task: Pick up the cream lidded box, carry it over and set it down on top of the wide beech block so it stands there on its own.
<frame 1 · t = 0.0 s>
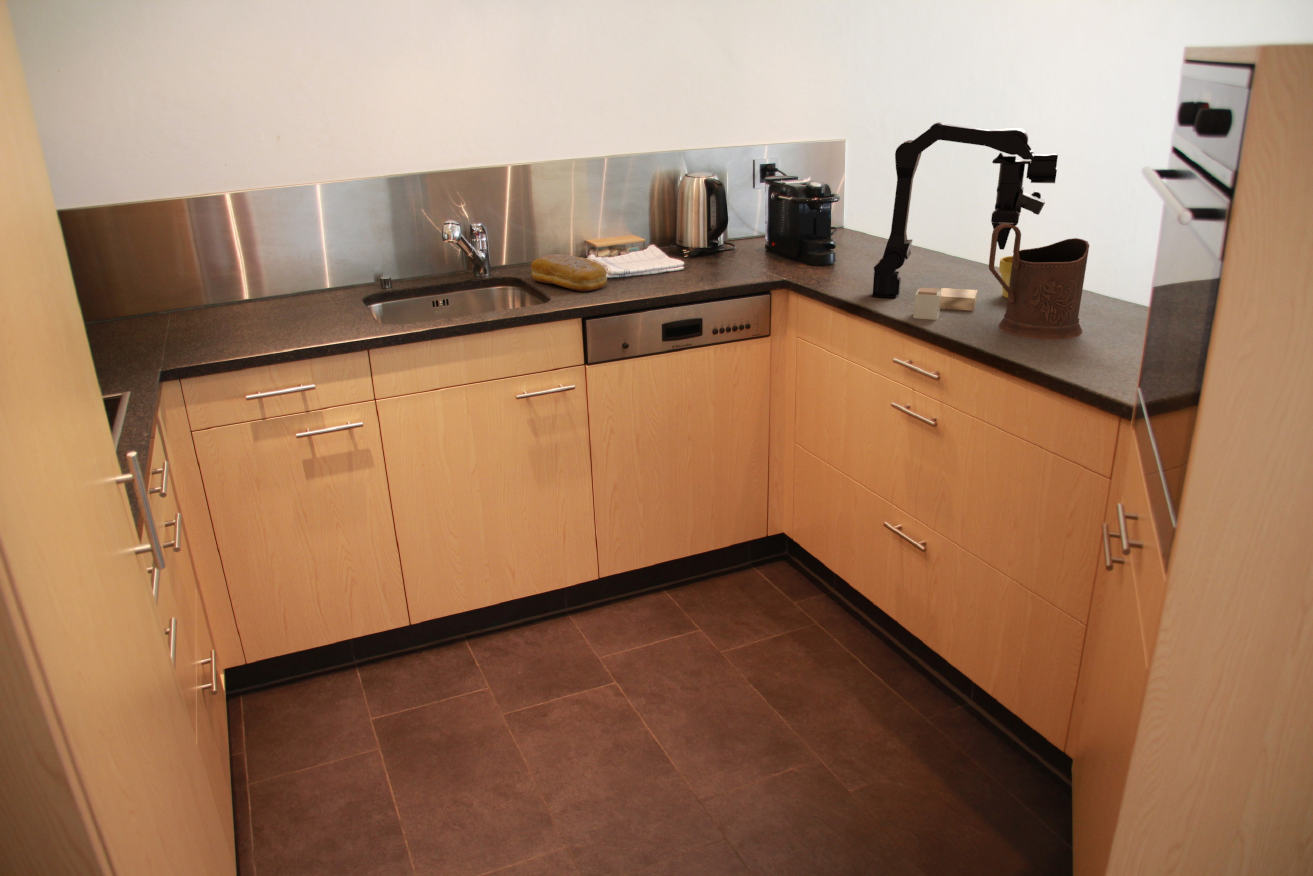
hand: (1002, 245, 235), 15 cm above the countertop, fingers open, 9 cm apart
beech block: (956, 306, 239), on the countertop
plant pot: (1016, 297, 246), on the countertop
cup holder: (1029, 330, 218), on the countertop
bread: (569, 285, 272), on the countertop
cream lidded box: (926, 316, 230), on the countertop
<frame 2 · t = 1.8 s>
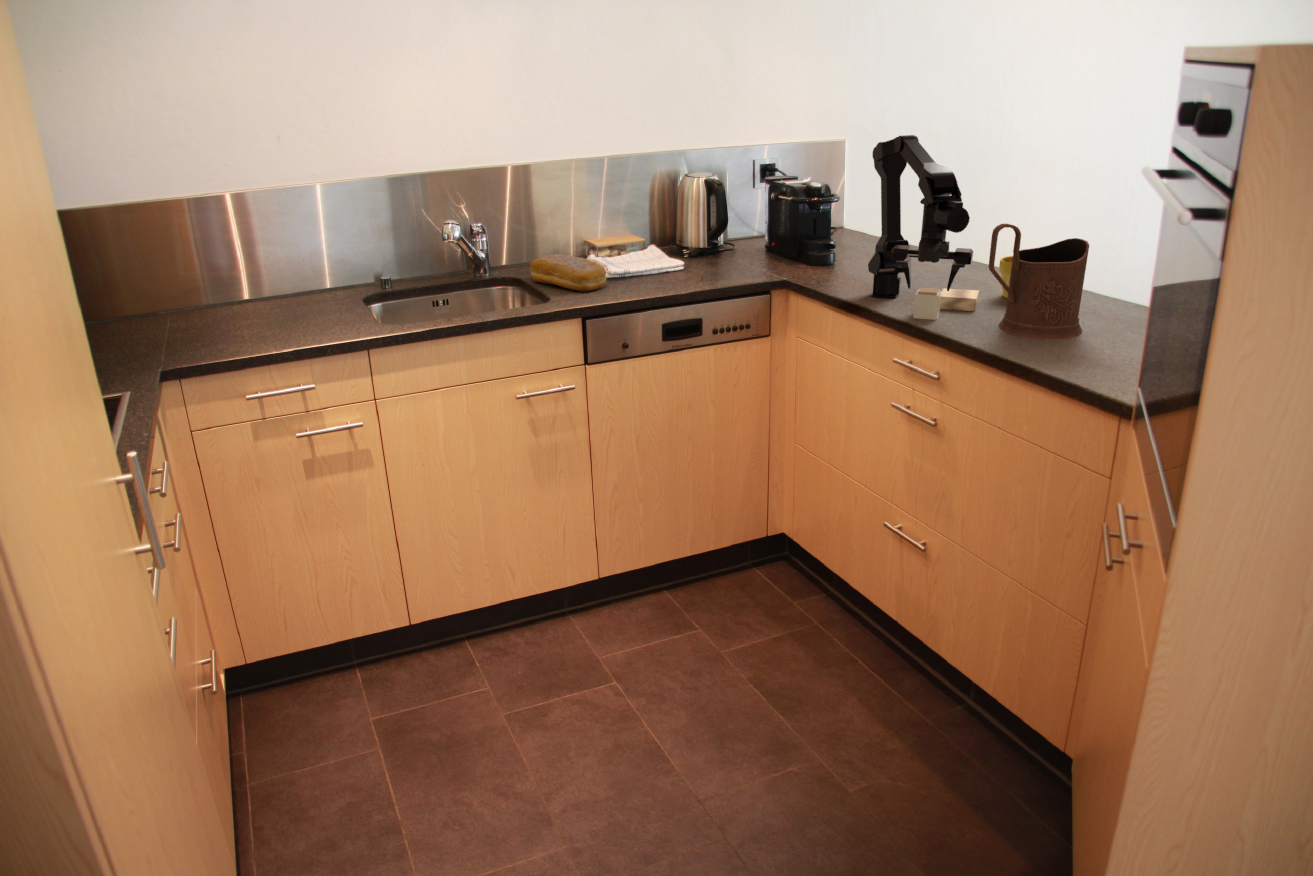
hand: (928, 289, 228), 7 cm above the countertop, fingers open, 9 cm apart
nothing on the countertop moved.
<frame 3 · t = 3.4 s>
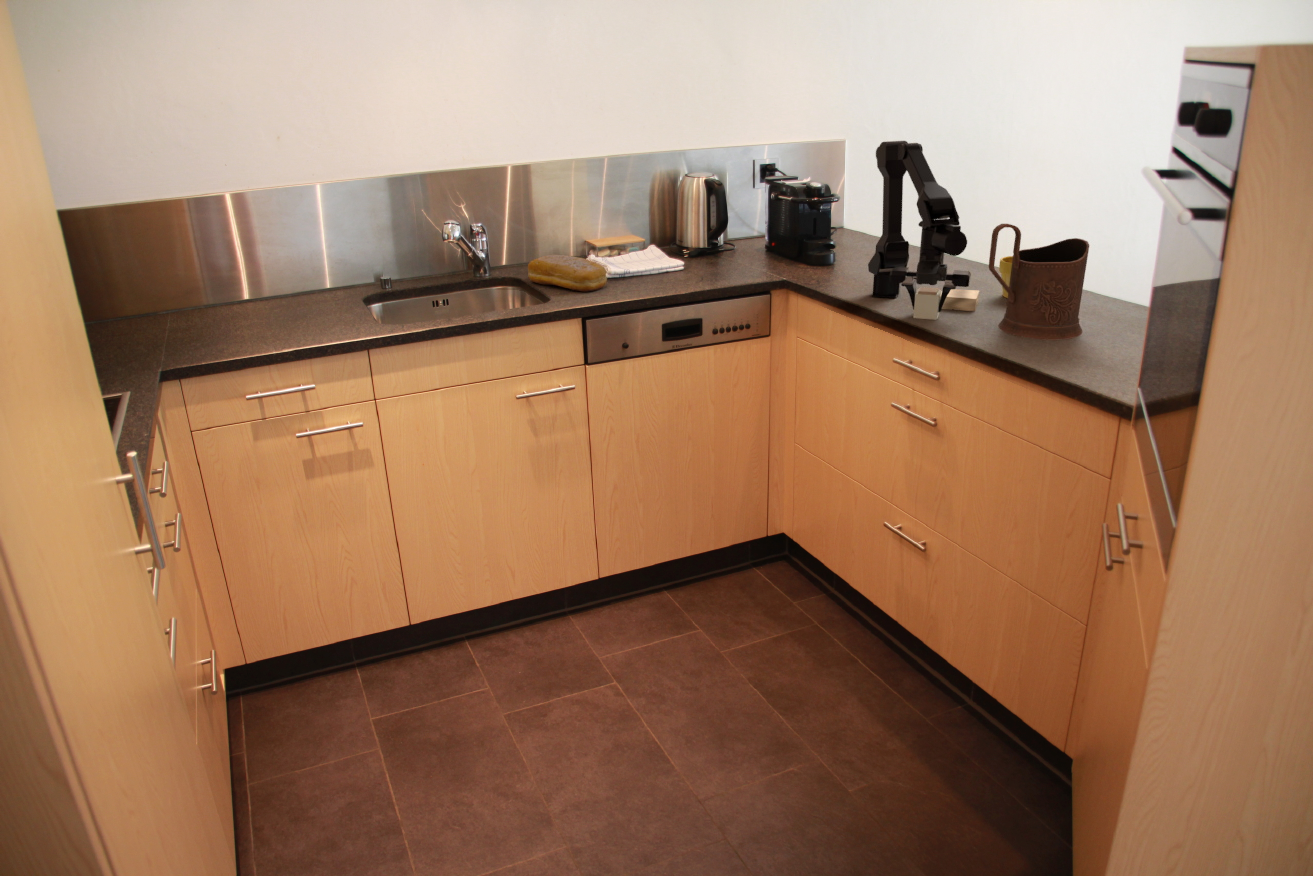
hand: (926, 310, 230), 1 cm above the countertop, fingers closed on cream lidded box, 6 cm apart
cream lidded box: (926, 315, 230), on the countertop, touching gripper
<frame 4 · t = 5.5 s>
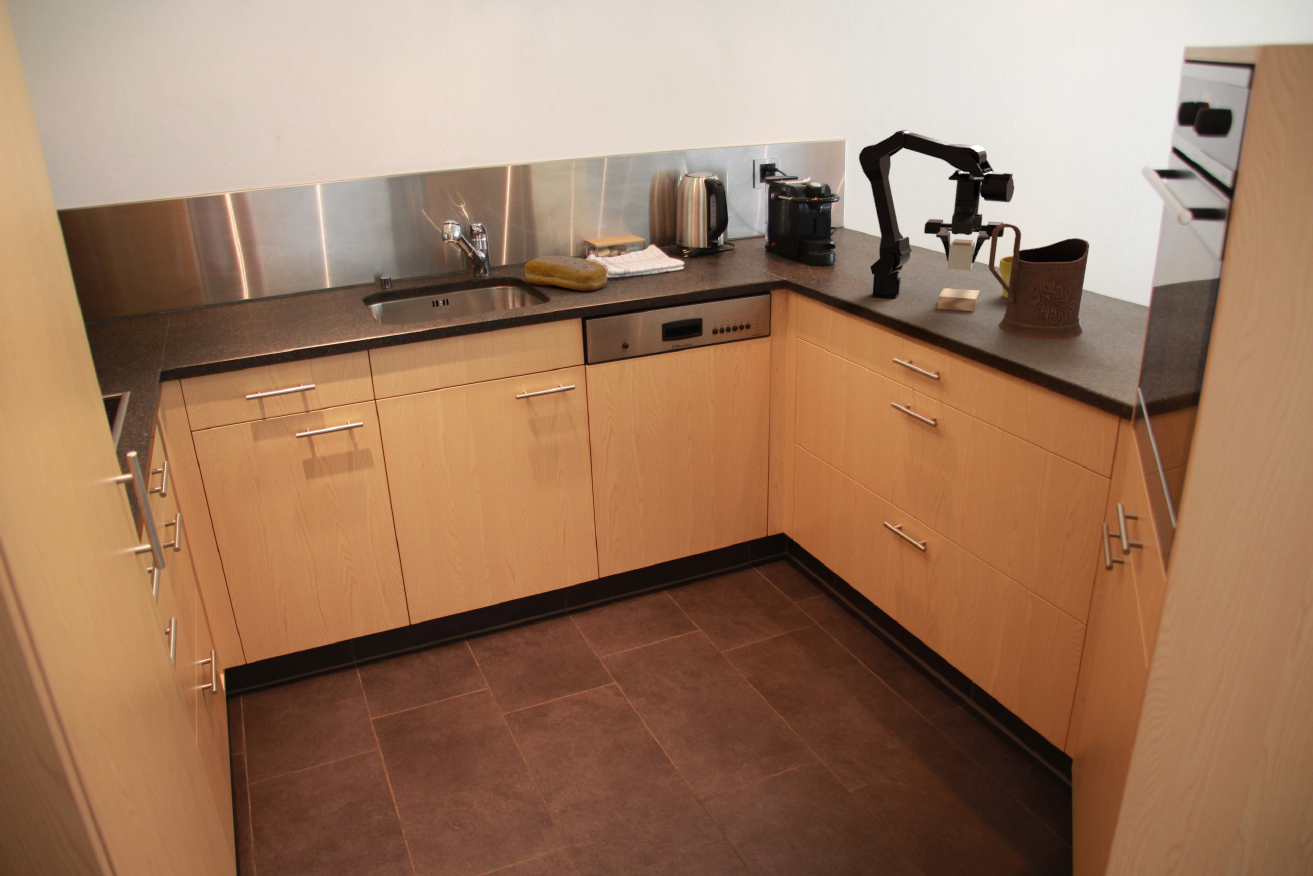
hand: (960, 262, 235), 11 cm above the countertop, fingers closed on cream lidded box, 6 cm apart
cream lidded box: (960, 267, 235), point 10 cm above the countertop, touching gripper
when the fingers open (5 cm above the countertop, at t = 7.6 s): cream lidded box stays where it is, point 3 cm above the countertop.
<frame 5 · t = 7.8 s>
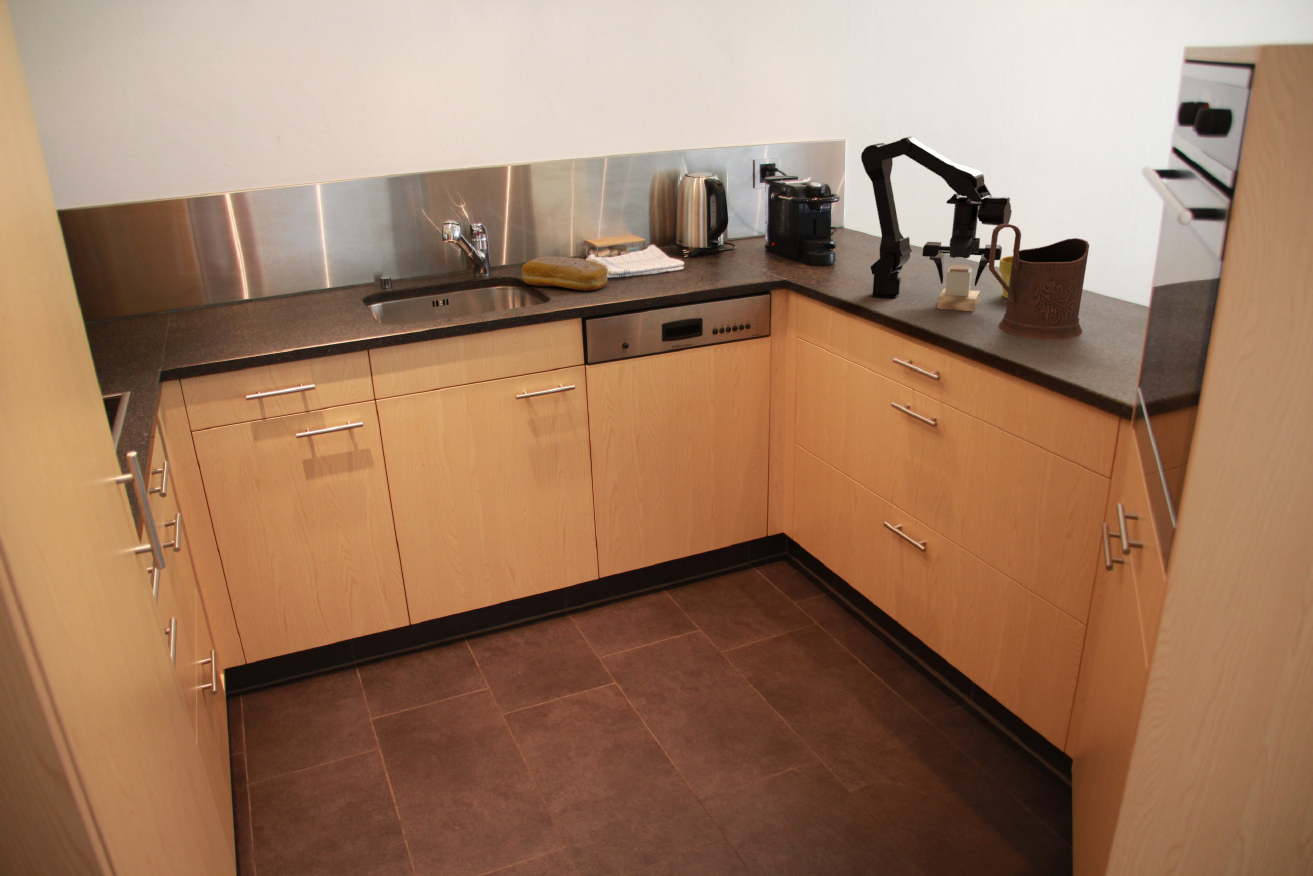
hand: (958, 284, 237), 5 cm above the countertop, fingers open, 8 cm apart
cream lidded box: (957, 293, 238), point 3 cm above the countertop
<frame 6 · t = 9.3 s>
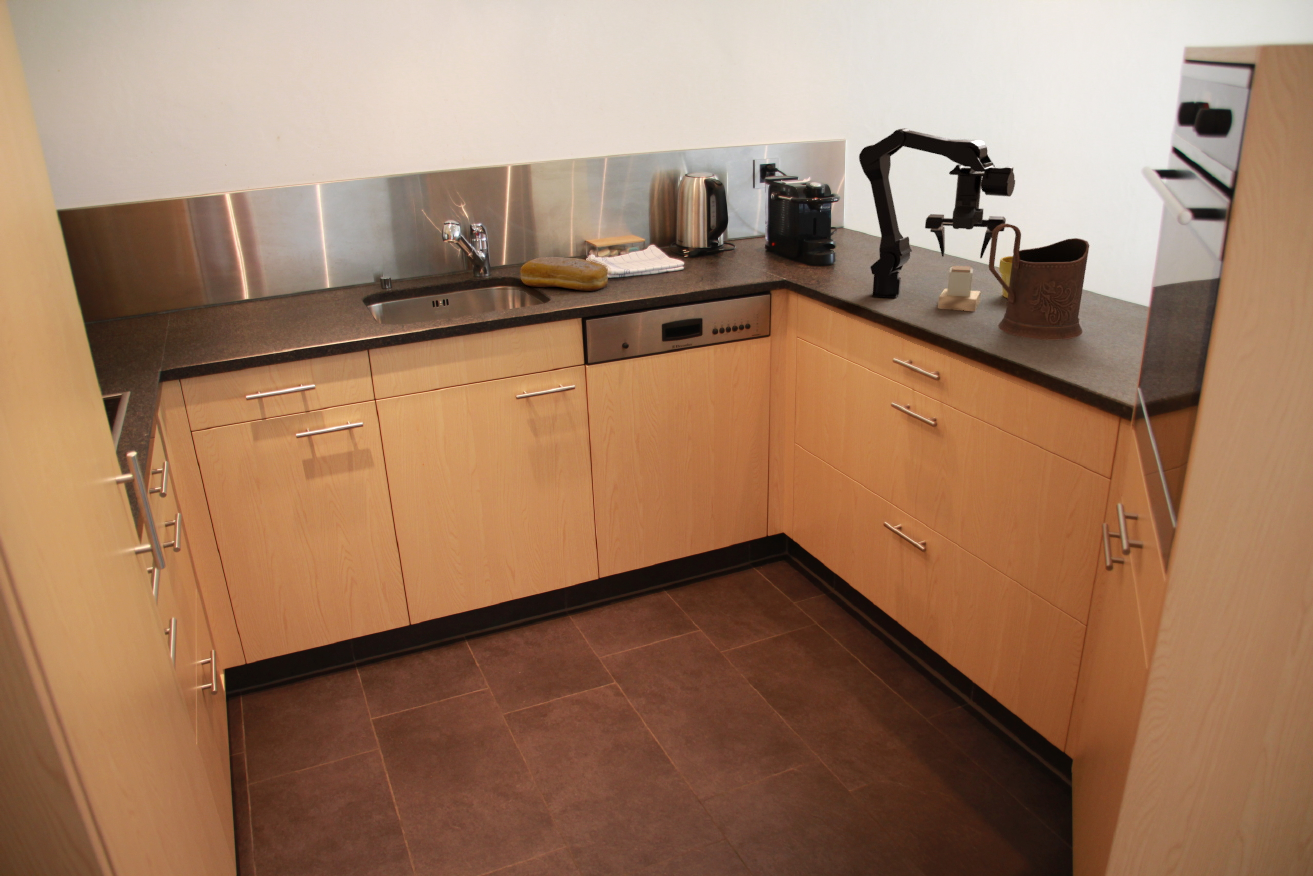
hand: (961, 257, 235), 12 cm above the countertop, fingers open, 9 cm apart
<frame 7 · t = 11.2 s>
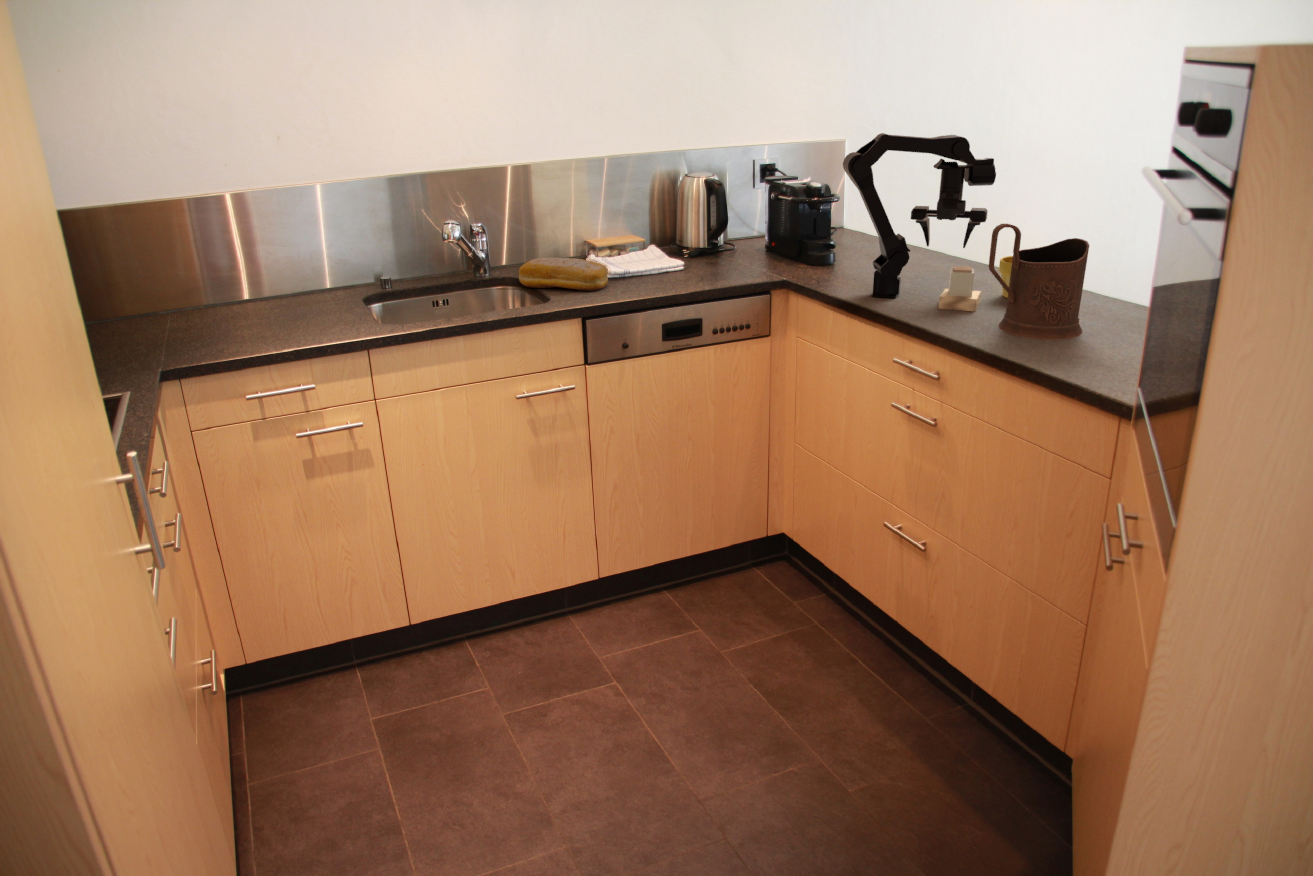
hand: (945, 246, 246), 13 cm above the countertop, fingers open, 9 cm apart
at the end: cream lidded box inside the target area on the beech block (0.2 cm from its centre), point 3.5 cm above the beech block's base; cream lidded box tilted 0°; the gripper is holding nothing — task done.
